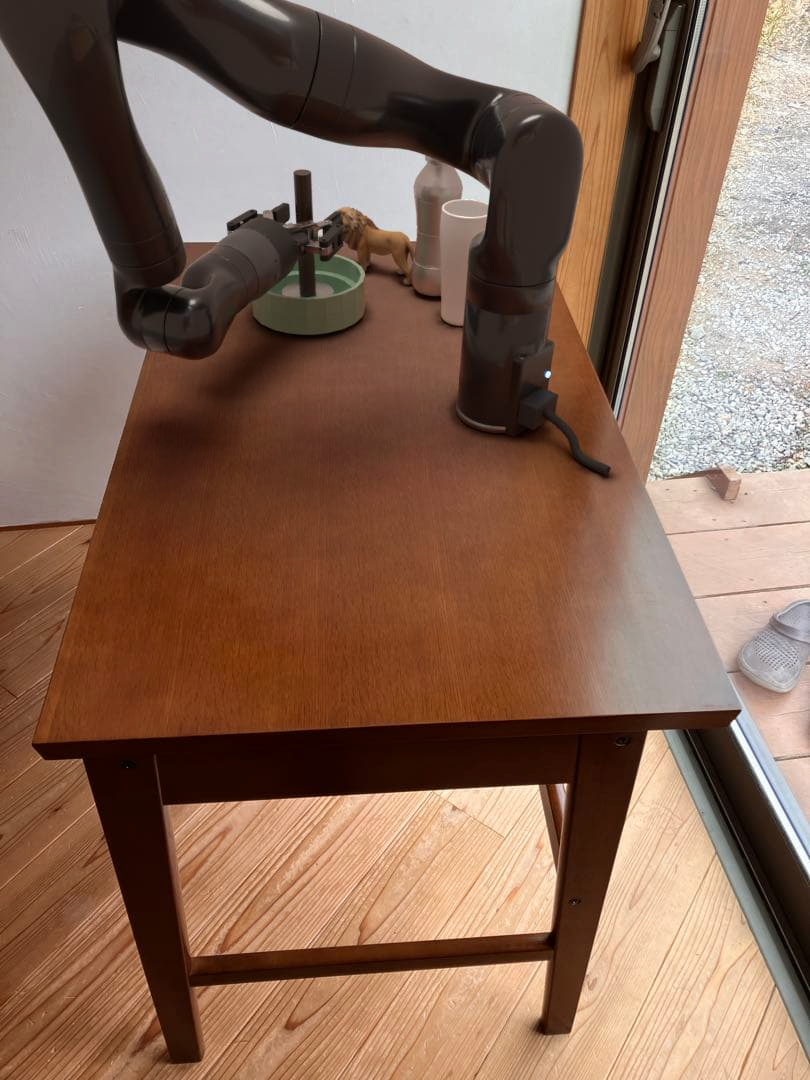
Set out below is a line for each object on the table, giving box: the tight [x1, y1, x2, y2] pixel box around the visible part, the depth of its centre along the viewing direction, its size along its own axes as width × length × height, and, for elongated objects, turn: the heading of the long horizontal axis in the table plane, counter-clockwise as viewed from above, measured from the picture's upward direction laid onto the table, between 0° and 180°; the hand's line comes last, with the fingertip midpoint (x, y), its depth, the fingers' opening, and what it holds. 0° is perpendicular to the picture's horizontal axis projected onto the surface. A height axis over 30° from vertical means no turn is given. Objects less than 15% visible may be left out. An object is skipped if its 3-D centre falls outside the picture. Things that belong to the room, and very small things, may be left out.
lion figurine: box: [334, 206, 415, 286], centre depth 128 cm, size 15×5×9 cm, turn 70°
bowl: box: [250, 254, 366, 336], centre depth 119 cm, size 15×15×6 cm
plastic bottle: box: [411, 155, 464, 297], centre depth 120 cm, size 6×7×20 cm
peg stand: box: [282, 169, 334, 297], centre depth 115 cm, size 7×7×18 cm
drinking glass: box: [440, 198, 489, 327], centre depth 116 cm, size 7×7×15 cm
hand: (312, 215), depth 114 cm, fingers open, 6 cm apart
